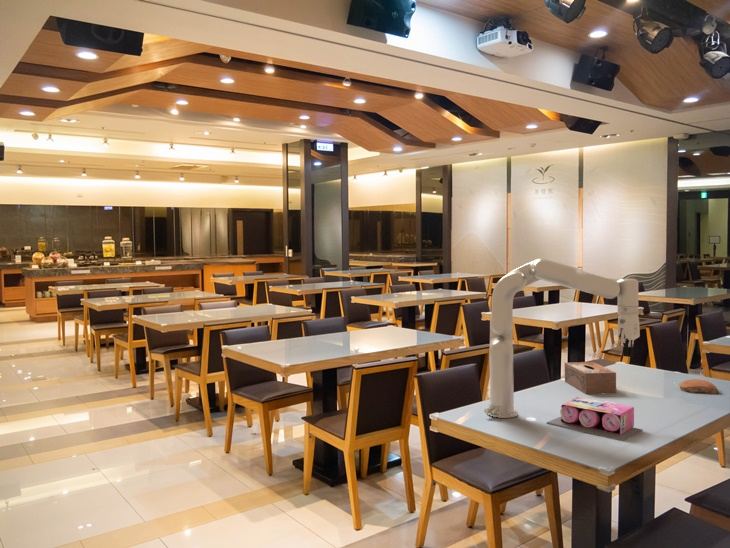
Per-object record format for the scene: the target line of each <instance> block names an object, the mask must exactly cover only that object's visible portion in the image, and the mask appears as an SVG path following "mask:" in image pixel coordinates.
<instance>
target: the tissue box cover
mask: <svg viewBox="0 0 730 548" xmlns="http://www.w3.org/2000/svg"><path fill="white" fill-rule="evenodd" d="M564 382H565V383H566V384H568V385H570V386H571V387H573V388H574V389H576V390H578V391H579V392H581V393H582V394H584V395H602V394H601V393H609V394H617V372H616V371H614V370H611V369H609V368H607V367H605V366H602V365H601V364H598V363H597V362H595V361H581V362H580V361H578V362H577V361H576V362H573V361H572V362H571V361H570V362H564Z"/></svg>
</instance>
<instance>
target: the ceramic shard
mask: <svg viewBox="0 0 730 548" xmlns="http://www.w3.org/2000/svg"><path fill="white" fill-rule="evenodd" d="M678 385H679V389H680V390H681V391H682V392H687V393H691V394H695V393H706V394H716V395H718V394H719V392H720V391H719V389H718V388H717V386H716V385H714V384H713V383H712V382H710V381H709V380H708V381H707V380H704V379H699V378H698V379H694V378H693V379H686V380H685V381H682V382H680V383H679V384H678Z"/></svg>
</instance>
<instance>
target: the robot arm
mask: <svg viewBox="0 0 730 548" xmlns="http://www.w3.org/2000/svg"><path fill="white" fill-rule="evenodd" d="M538 281H543V282H548V283H551V284H554V285H558V286H562V287H565V288H568V289H571V290H575V291H581V292H583V293H588V294H591V295H594V296H598V297H601V298H604V299H608V300H609V299H610V300H612V299H615V298H617V314H618V316H617V318H618V319H617V338H618V339H619V340H620V343H621V344H622V355H623V357H626V358H627V357H628V358H632V357H634V344H635V343H634V341H636V339H638V338H640V336H641V335H640V333H641V331H640V318H639V281H638V279H636V278H620V279H618V278H617V279H616V278H610V277H609V278H608V277H604V276H600V275H596V274H594V273H590V272H587V271H585V270H582V269H580V268H577V267H575V266H571V265H567V264H563V263H561V262H556V261H553V260H551V259H547V258H543V257H542V258H540V257H538V258H536V259H533V260H532V261H530V262H527V263H525V264H524V265H521V266H520V267H517V268H515V269H513V270H511V271H509V272H508V273H507V274H505V275H504V276H502V277H501V278H500V279H499V280H498V281H497V283H496V284H495V285H494V288H493V290H492V294H491V295H492V298H491V315H490V319H489V320H490V321H489V351H488V353H489V355H488V357H489V358H488V359H489V401H490V402H489V404H488V405H489V407H487V408H485V409H483V412H484V413H485V414H486V415H487V414H488V416H489V415H490V416H489V417H492V416H493V418H496V417H498V418H499V419H511V418H515V417H517V416H518V414H519V413H518V410H516V409H515V405H514V403H515V401H514V398H515V397H514V396H515V395H514V394H515V393H514V347H513V346H514V345H513V338H514V337H513V336H514V335H513V333H514V330H513V329H514V328H513V327H514V319H513V309H514V297H515V295H516V294H517V293H518V292H521V291H523V290H524V288H525V287H528V286H530V285H532V284H534V283H536V282H538ZM498 418H497V419H498Z"/></svg>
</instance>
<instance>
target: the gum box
mask: <svg viewBox="0 0 730 548" xmlns="http://www.w3.org/2000/svg"><path fill="white" fill-rule="evenodd" d="M560 406H561V407H560V411H559V414H560V417H562V418H561V419H560V420H561V423H564V424H568V425H572V426H578V427H583V428H589V429H594V430H599V431H604V432H608V433H613V434H617V435H621V434H623V433H624V432H626V431H627V430H629V429H631V428H632V427H633V428H635V427H634V426H635V407H634V406H631V405H625V404H619V403H613V402H608V401H602V400H597V399H592V398H586V397H585V398H584V397H579V396H576V397H574V398H572V399H570V400H569V401H566V402H565V403H562V405H560Z"/></svg>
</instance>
